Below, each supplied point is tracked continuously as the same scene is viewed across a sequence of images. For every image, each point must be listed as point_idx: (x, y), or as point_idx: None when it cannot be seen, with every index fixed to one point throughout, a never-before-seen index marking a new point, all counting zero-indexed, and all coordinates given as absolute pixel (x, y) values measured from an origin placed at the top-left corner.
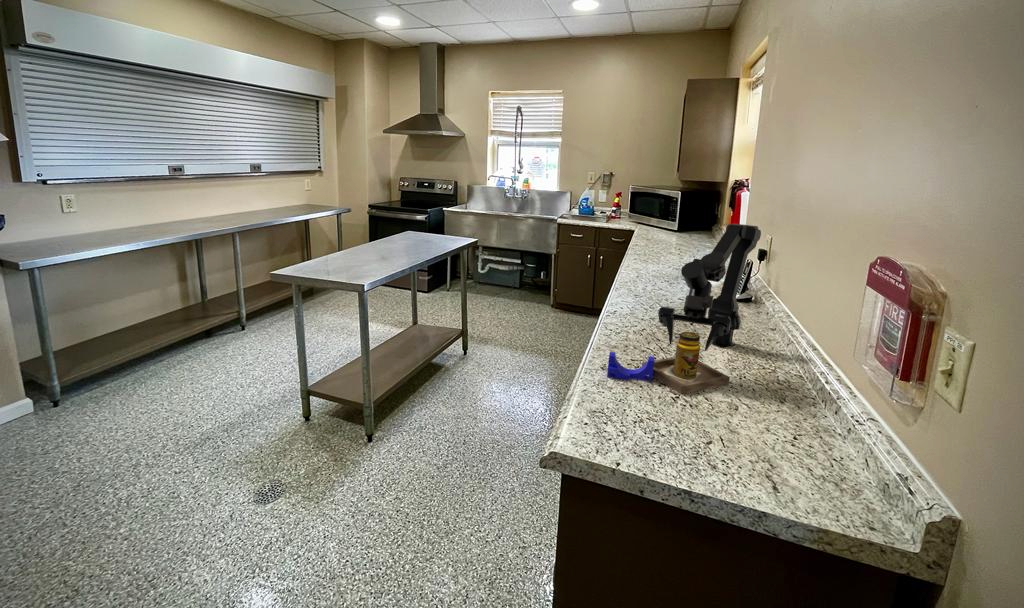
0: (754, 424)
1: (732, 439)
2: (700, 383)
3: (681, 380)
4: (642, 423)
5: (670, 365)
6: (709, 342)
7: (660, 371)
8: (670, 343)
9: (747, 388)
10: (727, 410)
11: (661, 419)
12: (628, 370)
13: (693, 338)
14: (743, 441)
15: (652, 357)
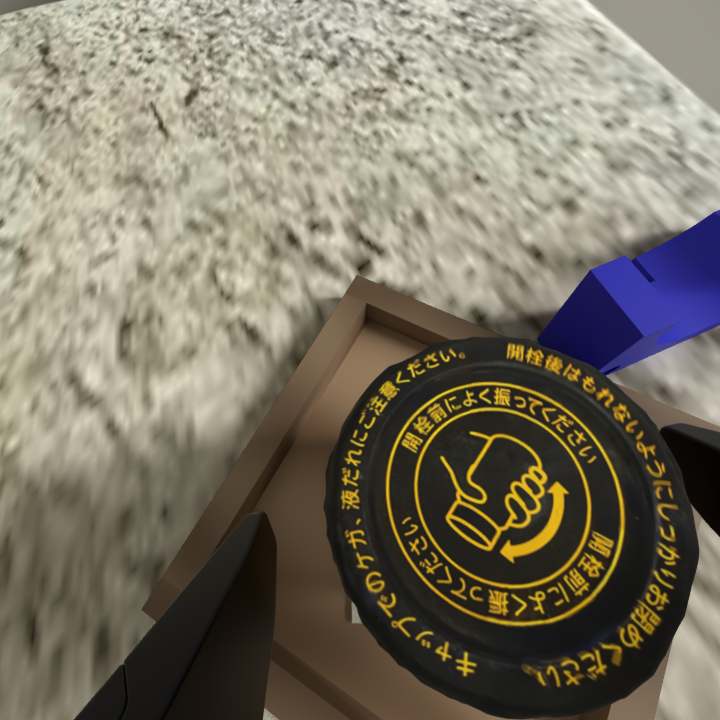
0: (62, 260)
1: (132, 143)
2: (290, 379)
3: None
4: (380, 65)
5: None
6: (191, 583)
7: None
8: (663, 431)
9: (65, 625)
10: (157, 294)
11: (344, 109)
12: (692, 307)
13: (386, 374)
14: (102, 152)
15: (647, 320)
